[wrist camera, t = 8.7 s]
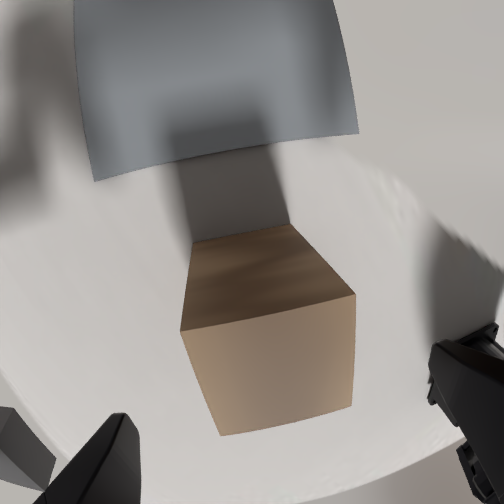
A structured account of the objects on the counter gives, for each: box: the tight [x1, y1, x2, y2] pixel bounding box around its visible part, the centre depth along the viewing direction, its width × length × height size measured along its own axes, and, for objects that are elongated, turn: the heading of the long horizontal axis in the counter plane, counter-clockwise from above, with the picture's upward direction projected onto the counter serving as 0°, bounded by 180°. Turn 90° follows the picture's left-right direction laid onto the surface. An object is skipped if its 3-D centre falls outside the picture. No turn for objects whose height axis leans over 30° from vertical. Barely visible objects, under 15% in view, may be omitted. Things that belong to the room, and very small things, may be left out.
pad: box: [74, 0, 359, 182], centre depth 11 cm, size 12×10×1 cm
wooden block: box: [180, 224, 356, 436], centre depth 11 cm, size 4×4×7 cm
